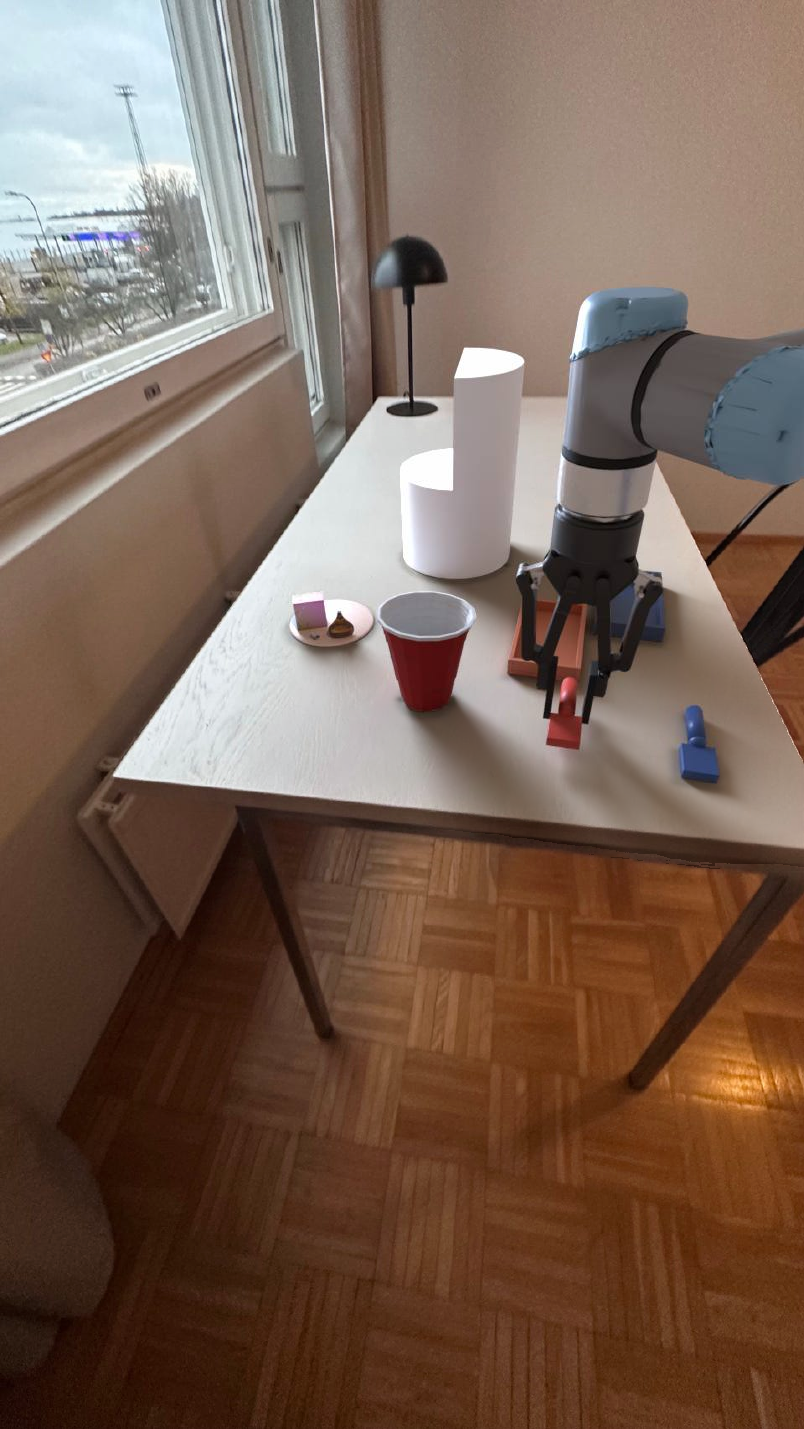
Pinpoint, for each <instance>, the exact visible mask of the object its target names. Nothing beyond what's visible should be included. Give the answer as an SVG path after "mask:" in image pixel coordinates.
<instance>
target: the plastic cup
mask: <svg viewBox="0 0 804 1429" xmlns="http://www.w3.org/2000/svg"><path fill="white" fill-rule="evenodd" d="M476 619H477V614H476V610H475V607H473V606H472V605H471V604H470V603H469V602H468V601H467V600H466V599H463V598H461V597H458V596H456V595H453V594H452V593H446V592H441V591H434V590H414V591H408V592H403V593H398V594H395V595H393V596H391V597H389V598H387V599H385V600H384V601H383V602H382V603H381V604H380V605H379V606H378V607H377V608H376V620H377V622H378V624H379V625H380V626H381V628H382V632H383V634H384V637H385V642H386V643H387V647H388V651H389V656H390V660H391V663H392V668H393V671H394V675H395V679H396V681H397V683H398V688H399V691H400V695H401V698H402V700H403V702H404V703H405V705H406V706H407V707H408V708H410V709H412V710H414V711H418V712H423V713H425V712H427V713H428V712H434V711H438V710H441V709H442V708H444V707H445V706H446V705H448V703H449V701H450V700H451V697H452V695H453V690H454V686H455V682H456V678H457V676H458V673H459V667H460V663H461V658H462V655H463V651H464V645H465V642H466V641H467V637H468V634H469V632H470V630H471V628H472V626H473V625H474V623H475V622H476Z"/></svg>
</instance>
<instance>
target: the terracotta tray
mask: <svg viewBox="0 0 804 1429" xmlns="http://www.w3.org/2000/svg"><path fill="white" fill-rule="evenodd" d="M556 603H557V600H553V599H545V598H537V615H536V644H538V645H541V646H542V645H543V642H544V639H545V636H546V633H547V630H548V627H549V624H550V621H551V618H552V615H553V612H554V609H555V606H556ZM587 610H588V605H587V604H578V605H573V604H572V607H571V610H570V613H569V615H568V617H567V619H566V622H565V625H564V628H563V631H562V633H561V636H560V639H559V642H558V645H557V648H556V650H555V653H554V656H559V658H558V665H557V672H556V679H555V681H556V680H557V681H563V680H564V679H565V678H568V677H572V678H574V679H575V680H576V681H577V683H579V682H580V677H581V671H582V664H583V653H584V642H585V630H586V622H587V621H586V620H587ZM521 640H522V604H521V606H520V608H519V613H518V617H517V621H516V626H515V631H514V633H513V638H512V642H511V646H510V649H509V650H510V651H509V656H508V658H507V668H506V674H510V675H518V676H523V677H524V676H525V677H533V678H537V673H538V665H537V663H535V662H534V661H525V660H523V659H522V657H521Z"/></svg>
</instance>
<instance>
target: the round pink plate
mask: <svg viewBox="0 0 804 1429" xmlns="http://www.w3.org/2000/svg"><path fill="white" fill-rule="evenodd" d="M291 600H292V608H293V612H294V614H293V616H292V617H291V619H290V621H289V624H288V629H289V633H290V634H291V636H292V637H293V638H294V639H295V640H297V641H299V642H300V643H303V644H305V645H308V646H314V647H320V648H321V647H322V648H326V647H327V648H329V647H338V646H339V647H340V646H344V645H348V644H351V643H353V642H355V641H358V640H360V639H362V638H363V637H365V636H366V635H367V634H368V633H369V632H370V631H372V628H373V626H374V625H375V624H374V623H375V617H374V614H373V612H372V611H371V610H370V609H369V607H367V606H365V605H364V604H362V603H359V602H357V601H354V600H349V599H324V594H323V591H322V590H320V591H312V592H304V593H297V594H291Z"/></svg>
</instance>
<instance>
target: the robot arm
mask: <svg viewBox="0 0 804 1429" xmlns="http://www.w3.org/2000/svg"><path fill="white" fill-rule="evenodd" d="M688 309H689V298H688V296H687V294H686V293H685V292H683V291H681V290H678V289H674V288H669V287H663V286H662V287H660V286H627V287H626V286H625V287H615V288H614V287H613V288H607V289H603V290H598V291H596V292H594V293H592V294H590V295H589V296H588V297H587V298H586V299H584V301H583V302H582V304H581V306H580V309H579V312H578V318H577V323H576V328H575V333H574V334H575V335H574V339H573V345H572V351H571V355H570V356H569V364H570V365H569V366H570V367H569V377H568V378H569V379H568V388H567V389H568V390H567V391H568V392H567V401H566V409H565V410H566V411H565V420H564V426H563V427H564V428H563V439H562V444H561V445H562V447H561V451H560V455H559V456H560V458H559V467H558V473H557V474H558V476H557V484H556V494H555V499H556V502H557V503H558V504H556V506H554V512H553V520H552V528H551V538H550V544H549V545H550V546H549V550H548V551H547V553H546V554H545V555H544V558H543V560H542V561H539V562H536V563H533V564H530V563H529V562H525V561H524V562H521V563H520V564H519V565H518V569H517V571H516V572H517V573H516V576H515V583H516V585H517V588H518V591H519V593H520V595H521V605H522V640H521V657H522V659H523V660H525V661H534V662H535V663H537V665H538V673H537V677H536V682H535V687H536V689H537V690H539V691H545V699H544V706H543V714H542V719H543V720H544V719H545V720H549V719H550V714H551V713H552V708H553V700H554V693H555V685H556V680H555V679H556V672H557V665H558V658H559V656H554V653H555V650H556V648H557V645H558V642H559V639H560V636H561V633H562V631H563V628H564V625H565V622H566V619H567V617H568V615H569V613H570V610H571V607H572V604H573V605H578V604H587V606H590V607H594V608H595V607H596V614H597V635H596V638H597V639H596V640H597V660H596V659H590V665H589V669H588V675H587V680H586V686H585V691H584V697H583V702H582V703H583V704H582V708H581V717H582V725H589V723H590V718H591V713H592V708H593V703H594V699H595V698H594V697H596V698H604V697H605V695H606V693H607V689H608V684H609V679H610V678H611V675H612V673H613V672H617V671H620V672H621V673H627V672H629V671H630V670H631V668H632V665H633V662H634V659H635V656H636V654H637V650H638V647H639V645H640V641H641V639H640V638H641V635H642V632H643V629H644V626H645V623H646V620H647V617H648V614H649V611H650V608H651V607H652V606H653V605H654V603H655V602H656V601H657V600H658V598H659V597H660V596H661V595H662V593H663V594H664V585H663V584H664V583H663V575H662V576H661V575H660V574H659V573H653V574H651V575H650V574H648V573H646V572H644V571H645V570H642V569H640V568H639V566H640V565H639V561H638V559H637V553H638V548H639V543H640V538H641V535H642V530H643V525H644V520H645V511H644V510H643V509H644V508H646V506H647V504H648V501H649V497H650V491H651V486H652V481H653V476H654V472H655V467H656V463H657V457H658V453H659V452H661V453H665V454H669V455H671V456H675V457H677V458H680V459H683V460H685V461H689V462H692V463H694V464H698V465H701V466H704V467H707V468H710V469H713V470H717V471H718V472H720V473H722V474H723V475H724V476H727V477H732V478H734V479H737V480H742V481H743V480H745V481H747V480H748V481H754V482H758V483H763V484H766V485H767V484H768V485H772V486H786V485H790V484H793V483H796V482H799V481H800V480H802V479H804V327H802V328H798V329H794V330H789V331H784V332H780V333H776V334H772V335H767V336H763V337H759V338H736V337H728V336H719V335H712V334H704V333H701V332H695V331H693V330H691V329H687V325H688V324H689V321H688V318H687V317H688V311H689V310H688ZM658 451H659V452H658ZM544 576H545V577H546V578H547V580H548V581H549V583H550V584H551V586H552V587H553V589H554V590H555V592H556V593H557V595H558V597H557V600H556V601H557V603H556V606H555V609H554V612H553V615H552V618H551V621H550V624H549V627H548V630H547V633H546V636H545V639H544V642H543V645H542V646H541V645H538V644H536V615H537V599H538V588H540V587H541V585H542V580H543V577H544ZM632 582H633V583H634V584H635V586H634V594H635V596H636V597H635V600H634V603H633V606H632V610H631V613H630V616H629V620H628V623H627V626H626V629H625V633H624V636H623V637H622V640H621V642H620V646H619V649H618V651H617V652H613V653H612V636H611V601H612V600H613V599H614V598H615V597H616V596H617V595H619V594H620V593H621V592H622V591H623V590H624V589H625V588H627V587H628V586H629V585H630V584H631V583H632Z"/></svg>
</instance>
